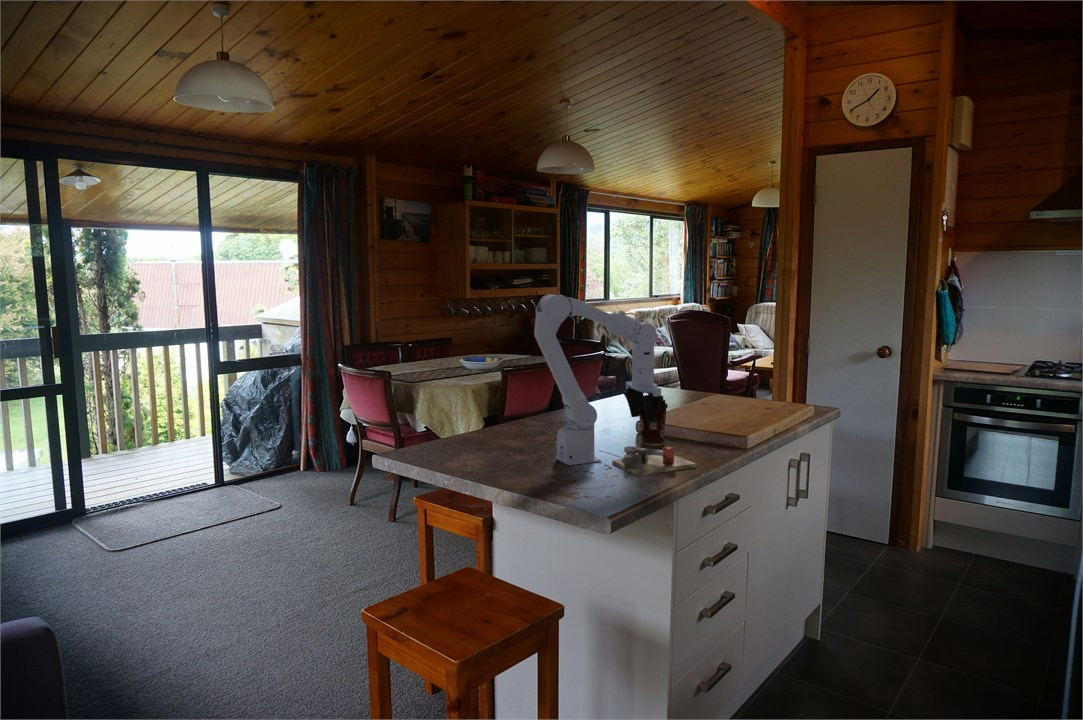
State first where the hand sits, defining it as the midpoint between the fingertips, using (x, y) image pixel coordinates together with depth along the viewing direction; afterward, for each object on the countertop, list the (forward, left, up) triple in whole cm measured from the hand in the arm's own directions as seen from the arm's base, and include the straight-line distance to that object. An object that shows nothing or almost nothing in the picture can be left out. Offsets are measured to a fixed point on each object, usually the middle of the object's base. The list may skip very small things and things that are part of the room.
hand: (642, 419), depth 187 cm
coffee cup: (+10, +11, -10) cm, 18 cm away
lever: (-5, -11, -9) cm, 15 cm away
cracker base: (-4, -10, -10) cm, 15 cm away
